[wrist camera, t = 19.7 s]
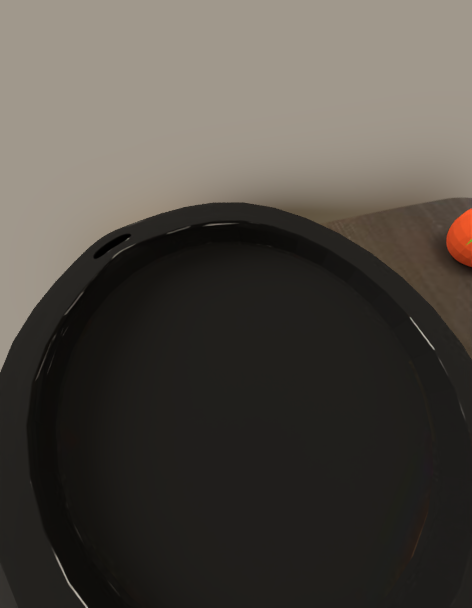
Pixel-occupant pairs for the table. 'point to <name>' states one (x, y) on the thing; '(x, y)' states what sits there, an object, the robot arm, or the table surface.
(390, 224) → the table surface
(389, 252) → the table surface
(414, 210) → the table surface
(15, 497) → the coffee cup
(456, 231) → the clementine
